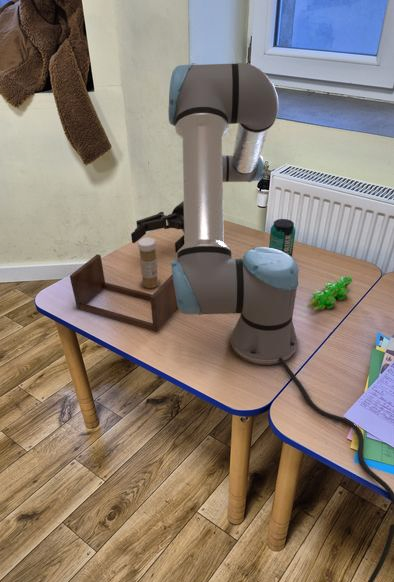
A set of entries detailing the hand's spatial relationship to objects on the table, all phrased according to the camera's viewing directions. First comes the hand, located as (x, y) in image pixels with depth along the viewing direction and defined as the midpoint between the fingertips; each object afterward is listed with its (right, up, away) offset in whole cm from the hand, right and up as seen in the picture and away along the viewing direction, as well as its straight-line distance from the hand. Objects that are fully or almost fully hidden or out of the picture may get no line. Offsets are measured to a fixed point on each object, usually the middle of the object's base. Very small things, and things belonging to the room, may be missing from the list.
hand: (154, 243), depth 127 cm
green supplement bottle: (+37, -2, +14) cm, 39 cm away
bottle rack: (-7, -18, -3) cm, 19 cm away
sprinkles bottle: (-1, -11, +5) cm, 12 cm away
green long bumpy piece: (+47, -16, -2) cm, 50 cm away
